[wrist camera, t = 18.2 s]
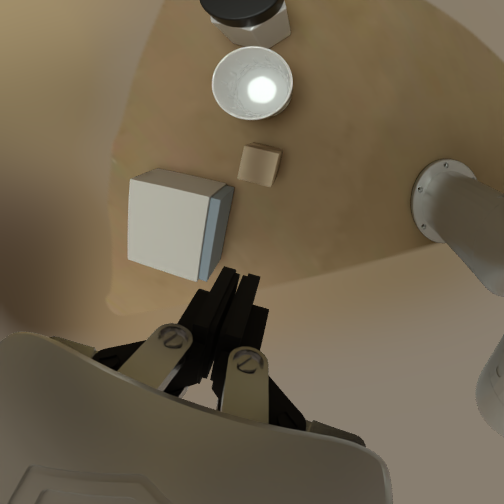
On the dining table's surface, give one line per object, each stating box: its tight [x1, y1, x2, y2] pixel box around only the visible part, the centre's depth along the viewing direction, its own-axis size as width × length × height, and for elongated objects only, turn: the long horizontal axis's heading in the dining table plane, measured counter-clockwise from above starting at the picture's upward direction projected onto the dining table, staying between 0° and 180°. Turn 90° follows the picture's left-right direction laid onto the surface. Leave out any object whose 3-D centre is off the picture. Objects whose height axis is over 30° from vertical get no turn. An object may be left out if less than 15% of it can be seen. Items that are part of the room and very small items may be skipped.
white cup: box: [212, 46, 293, 120], centre depth 27 cm, size 8×8×10 cm
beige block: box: [237, 142, 283, 187], centre depth 33 cm, size 4×4×6 cm
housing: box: [128, 168, 226, 282], centre depth 38 cm, size 11×12×8 cm
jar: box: [200, 0, 291, 49], centre depth 22 cm, size 9×8×12 cm
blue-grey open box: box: [199, 185, 234, 281], centre depth 38 cm, size 11×12×7 cm
